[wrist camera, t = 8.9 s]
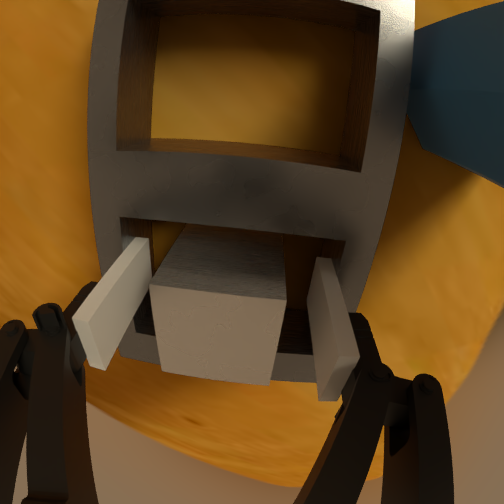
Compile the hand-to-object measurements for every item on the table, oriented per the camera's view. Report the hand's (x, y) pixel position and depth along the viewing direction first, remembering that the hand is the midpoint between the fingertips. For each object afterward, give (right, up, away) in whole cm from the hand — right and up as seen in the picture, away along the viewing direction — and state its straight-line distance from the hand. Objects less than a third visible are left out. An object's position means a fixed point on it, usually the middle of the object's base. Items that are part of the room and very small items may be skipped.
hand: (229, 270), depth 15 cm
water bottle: (+13, +10, -3) cm, 17 cm away
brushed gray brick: (0, +1, +2) cm, 3 cm away
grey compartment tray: (+1, +5, 0) cm, 5 cm away
